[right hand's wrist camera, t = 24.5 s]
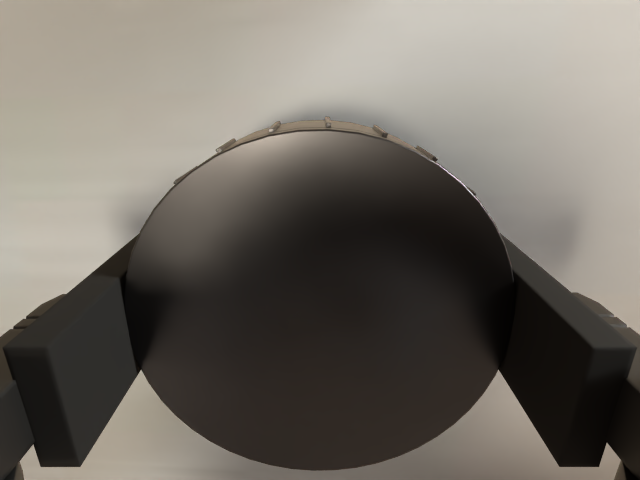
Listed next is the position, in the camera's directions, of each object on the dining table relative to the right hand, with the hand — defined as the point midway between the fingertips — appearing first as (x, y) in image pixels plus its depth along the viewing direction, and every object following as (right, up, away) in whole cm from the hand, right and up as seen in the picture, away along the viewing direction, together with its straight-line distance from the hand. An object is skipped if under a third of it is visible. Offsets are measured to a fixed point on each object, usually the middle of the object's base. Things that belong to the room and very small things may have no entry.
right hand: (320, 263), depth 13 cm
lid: (0, -1, -3) cm, 3 cm away
